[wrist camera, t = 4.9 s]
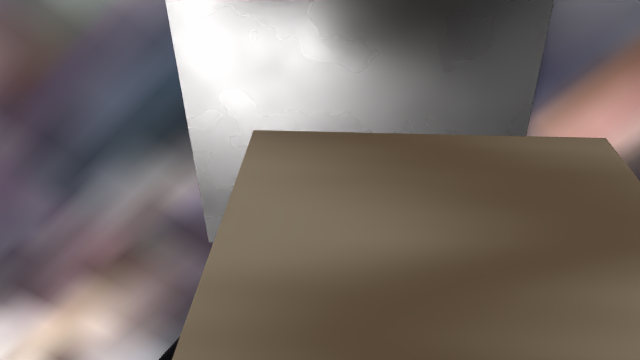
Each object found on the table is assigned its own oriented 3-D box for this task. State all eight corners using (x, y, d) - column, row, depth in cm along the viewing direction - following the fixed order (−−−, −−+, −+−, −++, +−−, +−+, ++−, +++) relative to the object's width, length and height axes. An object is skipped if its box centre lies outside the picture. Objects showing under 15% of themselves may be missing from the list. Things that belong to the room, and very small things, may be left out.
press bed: (553, -89, 15) (573, -81, 14) (460, 404, 27) (465, 435, 26) (169, -81, 16) (149, -73, 14) (246, 395, 28) (240, 424, 27)
